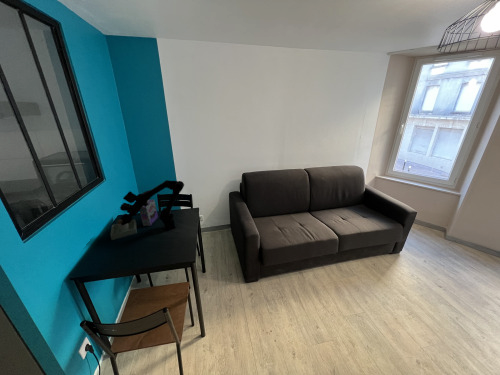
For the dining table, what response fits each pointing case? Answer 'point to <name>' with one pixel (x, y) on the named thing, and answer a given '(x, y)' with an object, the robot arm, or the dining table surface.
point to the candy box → (148, 213)
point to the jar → (122, 226)
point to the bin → (117, 234)
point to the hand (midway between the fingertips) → (125, 221)
